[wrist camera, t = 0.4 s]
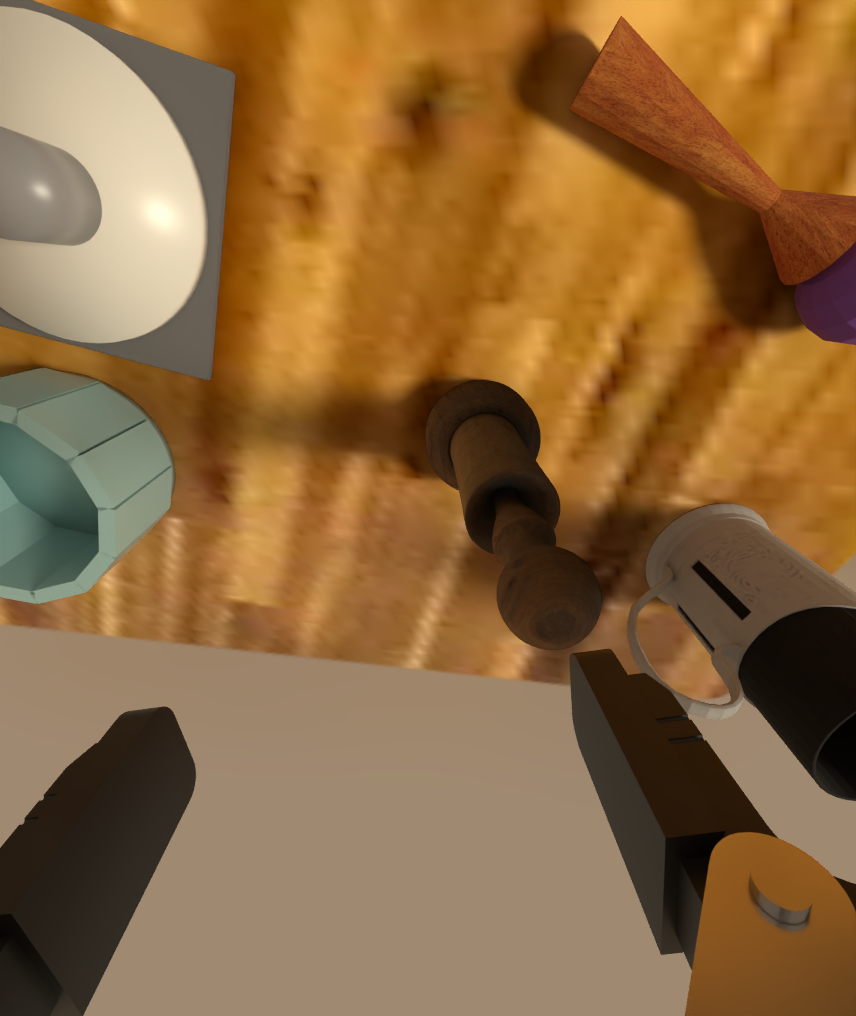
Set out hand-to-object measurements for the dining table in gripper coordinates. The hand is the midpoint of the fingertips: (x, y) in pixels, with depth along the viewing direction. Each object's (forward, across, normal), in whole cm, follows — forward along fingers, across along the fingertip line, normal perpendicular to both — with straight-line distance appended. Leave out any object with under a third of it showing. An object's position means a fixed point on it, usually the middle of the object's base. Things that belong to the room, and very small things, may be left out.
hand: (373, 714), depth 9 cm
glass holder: (+23, -18, +10) cm, 30 cm away
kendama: (+20, -19, -11) cm, 30 cm away
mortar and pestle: (+22, -5, -1) cm, 22 cm away
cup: (+21, +19, -3) cm, 29 cm away
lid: (+19, +14, -16) cm, 28 cm away
